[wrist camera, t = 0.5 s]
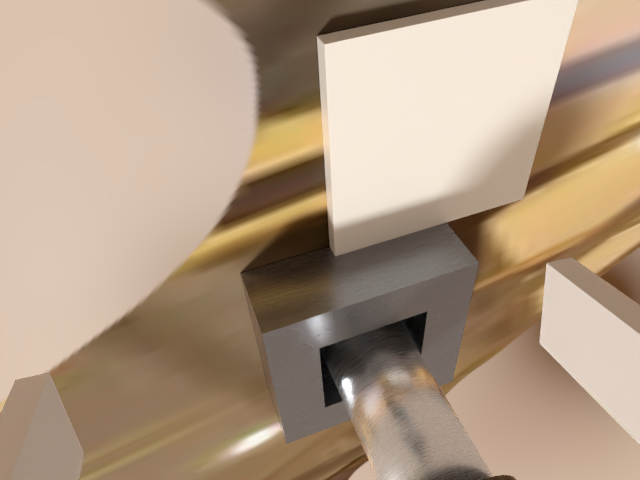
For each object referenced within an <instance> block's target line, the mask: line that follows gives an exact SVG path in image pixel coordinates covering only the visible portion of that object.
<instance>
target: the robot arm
mask: <svg viewBox="0 0 640 480" xmlns="http://www.w3.org/2000/svg"><path fill="white" fill-rule="evenodd" d="M540 344H541V345H542V346H543V347H544V348H545V349H546V350H547V351H548V352H549V353H550V354H551V356H552V357H554V359H556V360H557V362H558V363H559V364H560V365H562V367H564V369H565V370H566V371H567V372H568V373H569V374H570V375H571V376H572V377H573V378H574V379H575V380H576V381H577V382H578V383H579V384H580V385H581V386H582V387H583V388H584V389H585V390H586V391H587V392H588V393H589V394H590V395H591V396H592V397H593V398H594V399H595V400H596V401H597V402H598V403H599V404H600V405H601V406H602V407H603V408H604V409H605V410H606V411H607V412H608V413H609V414H610V415H611V416H612V417H613V418H614V419H615V420H616V421H617V422H618V423H619V424H620V425H621V426H622V427H623V428H624V429H625V430H626V431H627V432H628V433H629V434H630V435H631V436H632V437H633V438H634V439H635V440H636V441H637V443H638V444H639V445H640V305H639V304H637V303H636V302H635V301H633V300H632V299H630V298H629V297H627V296H626V295H624V294H623V293H622V292H620V291H619V290H617V289H616V288H614V287H613V286H612V285H610V284H609V283H607V282H606V281H605V280H603V279H602V278H600V277H599V276H597V275H596V274H595V273H593V272H592V271H590V270H589V269H587V268H586V267H585V266H583V265H582V264H580V263H579V262H577V261H576V260H575V259H573V258H567V259H563V260H558V261H553V262H549V263H547V265H546V276H545V287H544V298H543V310H542V321H541V332H540ZM84 455H85V454H84V452H83V449H82V447H81V445H80V443H79V440H78V438H77V436H76V433H75V431H74V429H73V426H72V424H71V422H70V419H69V417H68V415H67V412H66V410H65V408H64V406H63V403H62V401H61V399H60V396H59V394H58V392H57V389H56V387H55V385H54V382H53V380H52V378H51V375H50V373H45V374H41V375H36V376H32V377H27V378H22V379H18V380H15V383H14V385H13V387H12V389H11V392H10V394H9V396H8V398H7V400H6V403H5V405H4V407H3V409H2V412H1V414H0V480H79V477H80V472H81V468H82V464H83V459H84Z"/></svg>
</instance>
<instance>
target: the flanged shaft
mask: <svg viewBox="0 0 640 480" xmlns="http://www.w3.org/2000/svg"><path fill="white" fill-rule="evenodd" d="M320 350H321V352H322V355H323V357H324V359H325V361H326V364H327V366H328V368H329V371H330V373H331V375H332V377H333V380H334V382H335V384H336V387H337V389H338V391H339V393H340V396H341V398H342V400H343V403H344V405H345V407H346V409H347V412H348V414H349V416H350V419H351V421H352V423H353V425H354V428H355V430H356V432H357V435H358V437H359V439H360V441H361V444H362V446H363V448H364V451H365V453H366V455H367V457H368V460H369V462H370V464H371V466H372V469H373V471H374V473H375V476H376V478H377V480H516V479H515V478H514V477H513V476H508V475H501V476H495V477H493V476H492V474H491V472H490V470H489V469H488V467H487V465H486V464H485V462H484V460H483V459H482V457H481V455H480V454H479V452H478V450H477V449H476V447H475V445H474V444H473V442H472V440H471V439H470V437H469V435H468V434H467V432H466V430H465V429H464V427H463V425H462V423H461V422H460V420H459V418H458V417H457V415H456V413H455V412H454V410H453V408H452V407H451V405H450V403H449V402H448V400H447V398H446V397H445V395H444V393H443V392H442V390H441V388H440V387H439V385H438V383H437V382H436V380H435V378H434V376H433V375H432V373H431V371H430V370H429V368H428V366H427V365H426V363H425V361H424V360H423V358H422V356H421V355H420V353H419V351H418V350H417V348H416V346H415V345H414V343H413V341H412V340H411V338H410V336H409V335H408V333H407V331H406V329H405V328H404V326H403V324H402V323H401V321H398V322H395V323H392V324H389V325H386V326H383V327H380V328H377V329H374V330H371V331H368V332H365V333H362V334H360V335H357V336H354V337H351V338H348V339H345V340H342V341H339V342H336V343H333V344H330V345H327V346H324V347H322V348H320Z"/></svg>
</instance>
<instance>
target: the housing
mask: <svg viewBox="0 0 640 480" xmlns="http://www.w3.org/2000/svg"><path fill="white" fill-rule="evenodd" d="M478 265H479V262H478V261H477V260H476V258H475V257H474V256H473V255H472V253H471V252H470V251H469V250H468V249H467V247H466V246H465V245H464V244H463V242H462V241H461V240H460V239H459V237H458V236H457V235H456V234H455V232H454V231H453V230H452V229H451V228H450V226H449V225H448V224H447V223H443V224H440V225H436V226H433V227H430V228H427V229H423V230H420V231H417V232H414V233H410V234H407V235H404V236H401V237H397V238H394V239H391V240H387V241H384V242H381V243H378V244H374V245H371V246H368V247H365V248H361V249H358V250H355V251H352V252H348V253H345V254H342V255H338V256H335V255H334V253H333V252H332V250H331V248H330V246H329V247H326V248H322V249H319V250H316V251H312V252H309V253H306V254H302V255H299V256H296V257H292V258H289V259H286V260H282V261H279V262H276V263H272V264H269V265H266V266H262V267H259V268H256V269H253V270H249V271H246V272H243V273H241V277H242V282H243V286H244V290H245V294H246V298H247V302H248V307H249V311H250V315H251V319H252V323H253V327H254V332H255V336H256V340H257V344H258V348H259V353H260V357H261V361H262V365H263V369H264V373H265V378H266V382H267V386H268V390H269V393H270V396H271V399H272V402H273V405H274V408H275V411H276V414H277V417H278V420H279V423H280V426H281V429H282V432H283V435H284V438H285V441H286V444H288V443H290V442H293V441H295V440H298V439H301V438H303V437H306V436H309V435H311V434H314V433H317V432H319V431H322V430H325V429H327V428H330V427H333V426H335V425H338V424H341V423H343V422H346V421H348V420H351V419H350V416H349V414H348V412H347V409H346V407H345V405H344V403H343V400H342V398H341V396H340V393H339V391H338V389H337V387H336V384H335V382H334V380H333V377H332V375H331V373H330V371H329V368H328V366H327V364H326V361H325V359H324V357H323V355H322V352H321V350H320V348H322V347H324V346H327V345H330V344H333V343H336V342H339V341H342V340H345V339H348V338H351V337H354V336H357V335H360V334H362V333H365V332H368V331H371V330H374V329H377V328H380V327H383V326H386V325H389V324H392V323H395V322H398V321H401V323H402V324H403V326H404V328H405V329H406V331H407V333H408V335H409V336H410V338H411V340H412V341H413V343H414V345H415V346H416V348H417V350H418V351H419V353H420V355H421V356H422V358H423V360H424V361H425V363H426V365H427V366H428V368H429V370H430V371H431V373H432V375H433V376H434V378H435V380H436V382H437V383H438V385H439V386H441V385H444V384H447V383H449V382H452V380H453V376H454V371H455V367H456V362H457V358H458V354H459V349H460V345H461V340H462V336H463V331H464V327H465V323H466V318H467V314H468V309H469V305H470V300H471V296H472V292H473V287H474V283H475V278H476V274H477V270H478Z"/></svg>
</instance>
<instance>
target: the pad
mask: <svg viewBox="0 0 640 480" xmlns="http://www.w3.org/2000/svg"><path fill="white" fill-rule="evenodd" d="M577 3H578V0H484V1H480V2H475V3H470V4H466V5H461V6H456V7H451V8H447V9H442V10H437V11H433V12H428V13H423V14H418V15H414V16H409V17H404V18H399V19H395V20H390V21H385V22H381V23H376V24H371V25H366V26H362V27H357V28H352V29H348V30H343V31H338V32H333V33H329V34H324V35H319V36H317V46H318V62H319V79H320V95H321V112H322V128H323V145H324V161H325V178H326V194H327V211H328V227H329V244H330V248H331V250H332V252H333V253H334V255H335V256H338V255H342V254H345V253H348V252H352V251H355V250H358V249H361V248H365V247H368V246H371V245H374V244H378V243H381V242H384V241H387V240H391V239H394V238H397V237H401V236H404V235H407V234H410V233H414V232H417V231H420V230H423V229H427V228H430V227H433V226H436V225H440V224H443V223H446V222H450V221H453V220H456V219H459V218H463V217H466V216H469V215H472V214H476V213H479V212H482V211H485V210H489V209H492V208H495V207H499V206H502V205H505V204H508V203H512V202H515V201H518V200H521V199H523V198H524V194H525V191H526V187H527V183H528V180H529V176H530V173H531V169H532V165H533V162H534V158H535V155H536V151H537V147H538V144H539V140H540V136H541V133H542V129H543V126H544V122H545V118H546V115H547V111H548V108H549V104H550V100H551V97H552V93H553V90H554V86H555V82H556V79H557V75H558V72H559V68H560V64H561V61H562V57H563V54H564V50H565V46H566V43H567V39H568V36H569V32H570V28H571V25H572V21H573V17H574V14H575V10H576V7H577Z"/></svg>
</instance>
